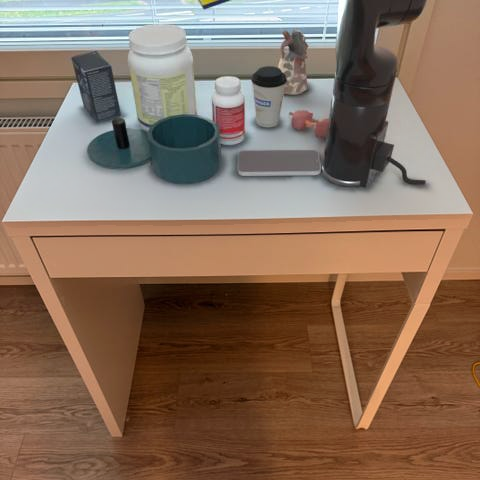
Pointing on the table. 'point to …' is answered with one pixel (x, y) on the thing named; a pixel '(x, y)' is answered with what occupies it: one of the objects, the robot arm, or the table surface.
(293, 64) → the figurine
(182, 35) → the supplement tub
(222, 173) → the table surface
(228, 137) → the pill bottle
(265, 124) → the coffee cup
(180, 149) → the tin
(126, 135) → the lid
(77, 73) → the box
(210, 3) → the supplement box
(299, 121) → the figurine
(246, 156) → the smartphone
